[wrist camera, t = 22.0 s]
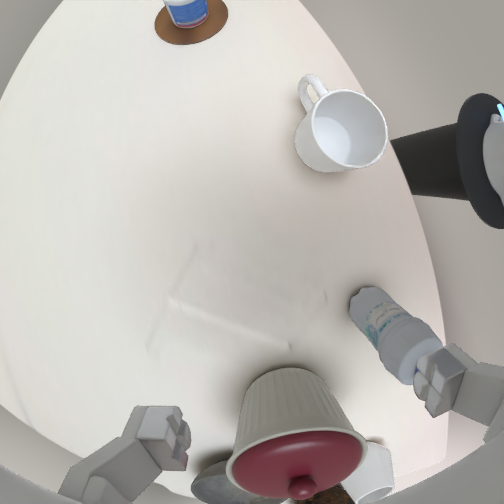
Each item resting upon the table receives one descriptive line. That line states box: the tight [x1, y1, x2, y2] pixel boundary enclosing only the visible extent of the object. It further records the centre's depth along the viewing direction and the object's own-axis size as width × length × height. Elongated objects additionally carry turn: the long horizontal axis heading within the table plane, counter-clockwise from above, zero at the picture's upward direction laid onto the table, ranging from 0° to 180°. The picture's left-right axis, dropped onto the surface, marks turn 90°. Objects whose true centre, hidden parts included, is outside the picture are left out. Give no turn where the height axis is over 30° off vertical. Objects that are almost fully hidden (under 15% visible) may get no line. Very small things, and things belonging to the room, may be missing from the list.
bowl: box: [191, 460, 288, 504], centre depth 43 cm, size 21×21×8 cm
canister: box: [226, 367, 368, 500], centre depth 32 cm, size 18×18×21 cm
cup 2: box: [340, 442, 394, 504], centre depth 41 cm, size 13×13×14 cm
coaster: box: [155, 0, 228, 45], centre depth 28 cm, size 11×11×1 cm
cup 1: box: [294, 74, 388, 173], centre depth 28 cm, size 8×12×10 cm
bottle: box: [349, 287, 443, 385], centre depth 29 cm, size 7×7×20 cm
